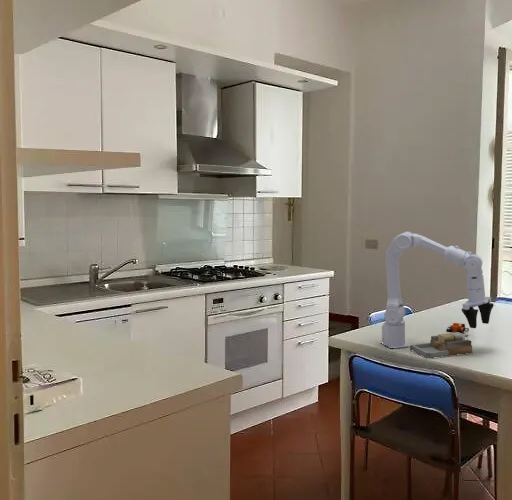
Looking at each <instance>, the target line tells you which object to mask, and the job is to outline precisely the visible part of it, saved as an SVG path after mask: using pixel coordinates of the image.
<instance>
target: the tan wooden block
mask: <svg viewBox="0 0 512 500" xmlns="http://www.w3.org/2000/svg"><path fill="white" fill-rule="evenodd" d="M437 336H438V342H439V343H441V344H443V345H445V342H452V341H454V336H453V335H451V334H449V332H446V333H439V334H438V335H437Z"/></svg>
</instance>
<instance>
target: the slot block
mask: <svg viewBox="0 0 512 500" xmlns="http://www.w3.org/2000/svg"><path fill="white" fill-rule="evenodd" d="M429 343H432V347H433V348H435V349H437V350H440V351H445V350H448V351H449V355H456V356H458V355H457V354H464V355H467V354H466V353H472V354H473V344H472V340H470V339H465V340H460V341H452V342H445V345H443V344H441V343H439V342H438V335H431V336H430V342H429Z"/></svg>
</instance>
